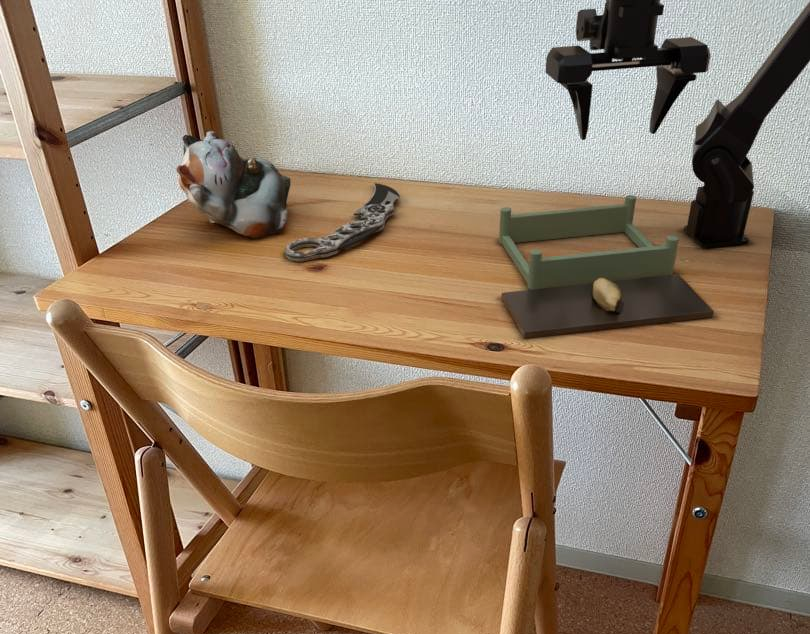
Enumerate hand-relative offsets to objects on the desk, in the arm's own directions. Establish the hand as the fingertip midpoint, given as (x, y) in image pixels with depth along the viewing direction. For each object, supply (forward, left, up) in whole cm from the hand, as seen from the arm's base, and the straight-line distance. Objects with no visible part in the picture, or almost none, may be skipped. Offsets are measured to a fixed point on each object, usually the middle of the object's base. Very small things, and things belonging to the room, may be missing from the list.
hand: (617, 136), depth 108 cm
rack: (+6, +8, -12) cm, 16 cm away
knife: (+33, -10, -12) cm, 37 cm away
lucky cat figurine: (+49, -14, -12) cm, 52 cm away
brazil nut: (+8, +22, -11) cm, 26 cm away
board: (+8, +22, -12) cm, 26 cm away
